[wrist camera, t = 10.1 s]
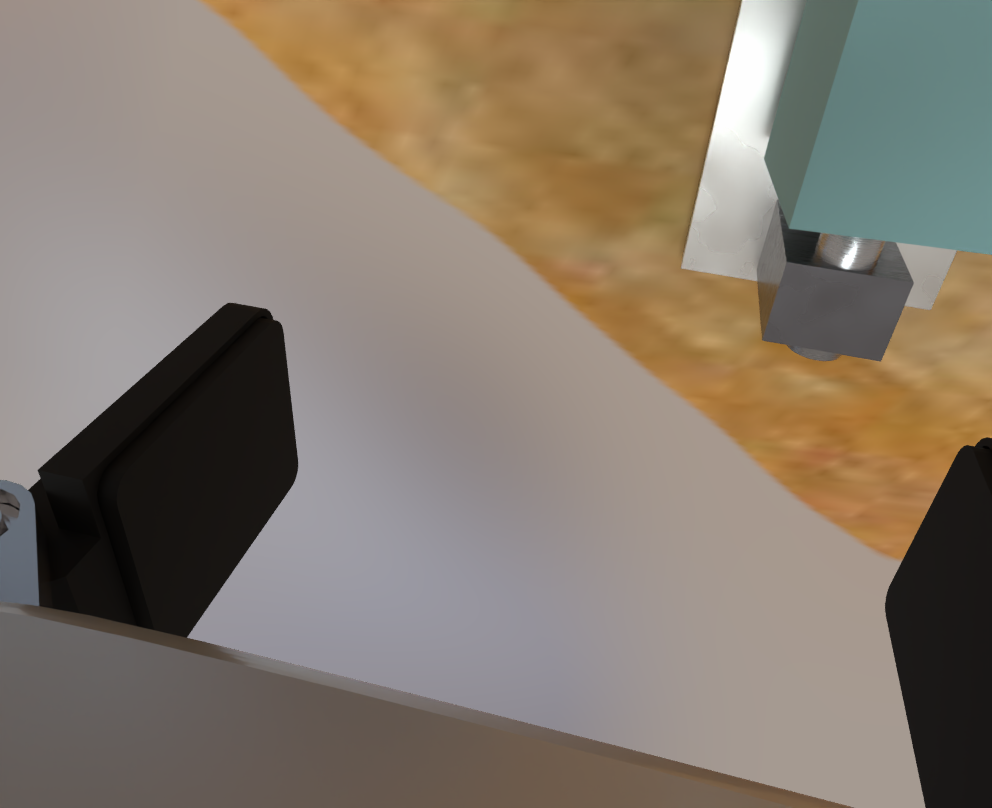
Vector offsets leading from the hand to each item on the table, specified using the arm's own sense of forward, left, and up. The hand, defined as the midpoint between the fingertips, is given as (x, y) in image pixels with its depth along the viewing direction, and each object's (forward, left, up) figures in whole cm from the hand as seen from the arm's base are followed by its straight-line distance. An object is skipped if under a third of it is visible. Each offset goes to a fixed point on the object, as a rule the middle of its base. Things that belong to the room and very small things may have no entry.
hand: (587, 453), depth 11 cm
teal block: (-6, -3, -21) cm, 22 cm away
